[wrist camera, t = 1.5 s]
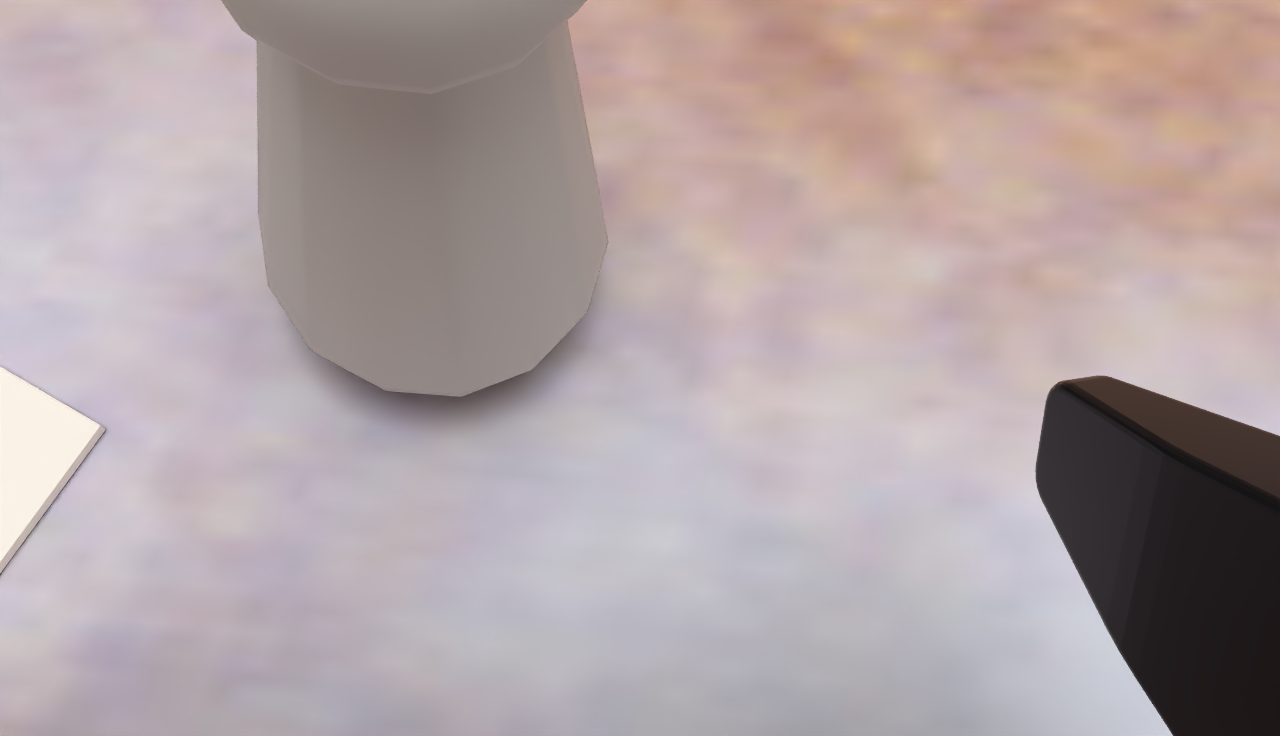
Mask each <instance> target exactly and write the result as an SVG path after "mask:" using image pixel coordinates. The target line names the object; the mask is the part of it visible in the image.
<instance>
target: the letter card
mask: <svg viewBox="0 0 1280 736" xmlns="http://www.w3.org/2000/svg"><path fill="white" fill-rule="evenodd" d="M105 430H106V429H105V428H104V427H102V426H101V425H99V424H97V423H96V422H94V421H92V420H91V419H89V418H87V417H85V416H84V415H82V414H80V413H79V412H77V411H75V410H73V409H72V408H70V407H68V406H67V405H65V404H63V403H61V402H60V401H58V400H56V399H55V398H53V397H51V396H49V395H48V394H46V393H44V392H43V391H41V390H39V389H38V388H36V387H34V386H32V385H31V384H29V383H27V382H26V381H24V380H22V379H20V378H19V377H17V376H15V375H14V374H12V373H10V372H8V371H7V370H5V369H3V368H2V367H0V573H1V572H2V570H3V569H4V568H5V566H6V565H7V564H8V562H9V561H10V560H11V558H12V557H13V555H14V554H15V553H16V551H17V550H18V549H19V547H20V546H21V544H22V543H23V542H24V540H25V539H26V538H27V536H28V535H29V534H30V532H31V531H32V529H33V528H34V527H35V525H36V524H37V523H38V521H39V520H40V519H41V517H42V516H43V514H44V513H45V512H46V510H47V509H48V508H49V506H50V505H51V504H52V502H53V501H54V499H55V498H56V497H57V495H58V494H59V493H60V491H61V490H62V489H63V487H64V486H65V484H66V483H67V482H68V480H69V479H70V478H71V476H72V475H73V474H74V472H75V471H76V469H77V468H78V467H79V465H80V464H81V463H82V461H83V460H84V459H85V457H86V456H87V454H88V453H89V452H90V450H91V449H92V448H93V446H94V445H95V444H96V442H97V441H98V439H99V438H100V437H101V435H102V434H103V433H104V431H105Z"/></svg>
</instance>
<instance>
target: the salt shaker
mask: <svg viewBox="0 0 1280 736" xmlns="http://www.w3.org/2000/svg"><path fill="white" fill-rule="evenodd" d="M221 1H222V2H223V4H224V5H225V6H226V8H227V9H228V11H229V12H230V14H231V15H232V17H233V18H234V19H235V21H236V22H237V24H238V25H239V27H240V28H241V30H243V31H244V32H245V33H247V34H248V35H250V36H251V37H252V38H254V39H255V40H256V41H257V126H258V214H259V221H260V229H261V236H262V244H263V251H264V259H265V267H266V274H267V282H268V286H269V288H270V289H271V291H272V292H273V294H274V295H275V297H276V298H277V300H278V301H279V303H280V304H281V306H282V307H283V309H284V310H285V312H286V313H287V315H288V317H289V318H290V320H291V321H292V323H293V324H294V326H295V327H296V329H297V330H298V332H299V333H300V335H301V336H302V338H303V339H304V341H305V342H306V344H307V345H308V347H309V348H310V349H311V350H312V351H314V352H315V353H317V354H318V355H320V356H322V357H324V358H326V359H327V360H329V361H331V362H333V363H335V364H337V365H339V366H340V367H342V368H344V369H346V370H348V371H350V372H352V373H353V374H355V375H357V376H359V377H361V378H363V379H364V380H366V381H368V382H370V383H372V384H374V385H376V386H377V387H379V388H381V389H383V390H385V391H393V392H406V393H419V394H432V395H445V396H458V397H462V396H465V395H467V394H470V393H473V392H475V391H478V390H481V389H483V388H486V387H488V386H491V385H494V384H496V383H499V382H502V381H504V380H507V379H510V378H512V377H515V376H518V375H520V374H523V373H525V372H528V371H531V370H533V369H534V368H535V366H536V365H537V364H538V363H539V362H540V361H541V360H542V359H543V358H544V357H545V356H546V355H547V354H548V353H549V352H550V351H551V350H552V349H553V348H554V347H555V346H556V345H557V344H558V343H559V342H560V341H561V339H562V338H563V337H564V336H565V335H566V334H567V333H568V332H569V331H570V330H571V329H572V328H573V327H574V326H575V325H576V324H577V323H578V322H579V321H580V320H581V319H582V317H583V316H584V315H585V313H586V312H587V311H588V308H589V305H590V301H591V298H592V295H593V291H594V288H595V285H596V281H597V278H598V275H599V271H600V268H601V265H602V261H603V258H604V255H605V251H606V248H607V245H608V237H607V232H606V226H605V221H604V215H603V210H602V204H601V199H600V193H599V187H598V182H597V176H596V171H595V166H594V160H593V155H592V150H591V144H590V139H589V134H588V128H587V123H586V118H585V112H584V107H583V102H582V96H581V91H580V86H579V80H578V75H577V70H576V64H575V59H574V54H573V48H572V43H571V38H570V32H569V27H568V22H567V20H568V19H569V18H570V17H572V16H573V15H574V14H575V13H576V12H577V11H578V10H579V9H580V8H581V6H582V5H583V4H584V3H585V2H586V1H587V0H221Z"/></svg>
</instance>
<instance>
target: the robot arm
mask: <svg viewBox="0 0 1280 736" xmlns="http://www.w3.org/2000/svg"><path fill="white" fill-rule="evenodd" d="M1036 483H1037V488H1038V491H1039V494H1040V497H1041V499H1042V502H1043V504H1044V506H1045V508H1046V510H1047V512H1048V514H1049V516H1050V518H1051V519H1052V521H1053V523H1054V525H1055V527H1056V529H1057V531H1058V533H1059V535H1060V537H1061V539H1062V541H1063V543H1064V545H1065V547H1066V549H1067V551H1068V553H1069V555H1070V557H1071V559H1072V561H1073V563H1074V565H1075V567H1076V569H1077V571H1078V573H1079V575H1080V577H1081V579H1082V581H1083V583H1084V585H1085V587H1086V589H1087V591H1088V593H1089V595H1090V597H1091V599H1092V601H1093V603H1094V605H1095V607H1096V608H1097V610H1098V612H1099V614H1100V616H1101V618H1102V620H1103V622H1104V624H1105V626H1106V628H1107V630H1108V632H1109V634H1110V635H1111V637H1112V639H1113V641H1114V643H1115V644H1116V646H1117V648H1118V650H1119V652H1120V653H1121V655H1122V657H1123V658H1124V660H1125V661H1126V663H1127V665H1128V666H1129V668H1130V670H1131V671H1132V673H1133V674H1134V676H1135V678H1136V679H1137V681H1138V682H1139V684H1140V685H1141V687H1142V688H1143V690H1144V692H1145V693H1146V695H1147V696H1148V698H1149V699H1150V701H1151V702H1152V704H1153V705H1154V707H1155V708H1156V710H1157V711H1158V713H1159V715H1160V716H1161V718H1162V719H1163V721H1164V722H1165V724H1166V725H1167V727H1168V728H1169V730H1170V731H1171V733H1172V734H1173V736H1280V436H1278V435H1275V434H1272V433H1270V432H1267V431H1264V430H1261V429H1258V428H1255V427H1252V426H1249V425H1247V424H1244V423H1241V422H1238V421H1235V420H1232V419H1229V418H1226V417H1224V416H1221V415H1218V414H1215V413H1212V412H1209V411H1206V410H1203V409H1201V408H1198V407H1195V406H1192V405H1189V404H1186V403H1183V402H1180V401H1178V400H1175V399H1172V398H1169V397H1166V396H1163V395H1160V394H1158V393H1155V392H1152V391H1149V390H1146V389H1143V388H1140V387H1137V386H1135V385H1132V384H1129V383H1126V382H1123V381H1120V380H1117V379H1114V378H1112V377H1108V376H1092V377H1085V378H1078V379H1072V380H1065V381H1060V382H1058V383H1057V384H1056V385H1054V386H1053V387H1052V388H1051V390H1050V392H1049V394H1048V396H1047V400H1046V404H1045V411H1044V417H1043V423H1042V430H1041V436H1040V442H1039V449H1038V455H1037V461H1036Z"/></svg>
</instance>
